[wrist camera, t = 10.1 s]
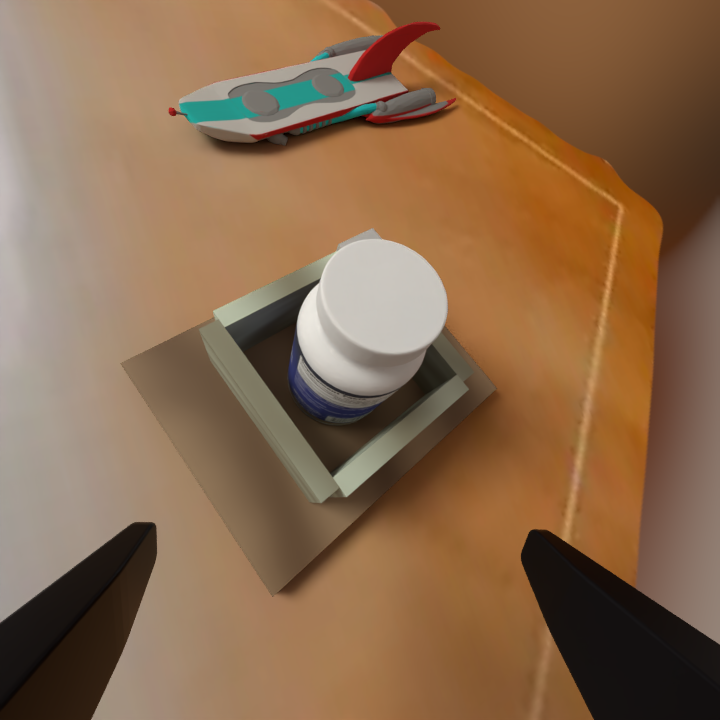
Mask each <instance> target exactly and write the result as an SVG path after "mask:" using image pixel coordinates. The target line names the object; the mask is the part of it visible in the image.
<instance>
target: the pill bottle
mask: <svg viewBox="0 0 720 720" xmlns="http://www.w3.org/2000/svg"><path fill="white" fill-rule="evenodd" d="M447 312H448V302H447V294H446V291H445V288H444V286H443V283H442V281H441V279H440V277H439V276H438V274H437V273H436V271H435V270H434V269H433V267H432V266H431V265H430V264H429V263H428V262H427V261H426V260H425V259H424V258H423V257H422V256H421V255H419V254H418V253H416V252H415V251H413V250H412V249H410V248H408V247H406V246H404V245H401V244H398V243H395V242H392V241H388V240H382V239H366V240H360V241H356V242H353V243H350V244H348V245H346V246H344V247H342V248H341V249H340V250H339V251H337V252H336V253H335V254H334V255H333V256H332V257H331V258H330V260H329V261H328V263H327V264H326V266H325V268H324V270H323V273H322V276H321V279H320V283H319V284H317V285H316V286H315V287H314V288H313V289H312V290H311V292H310V293H309V294H308V295H307V297H306V299H305V300H304V302H303V304H302V307H301V309H300V312H299V315H298V320H297V324H296V330H295V335H294V341H293V346H292V351H291V357H290V362H289V367H288V376H287V379H288V386H289V390H290V393H291V396H292V398H293V399H294V401H295V403H296V404H297V406H298V407H299V408H300V409H301V410H302V411H303V412H304V413H305V414H306V415H308V416H309V417H311V418H312V419H314V420H316V421H319V422H321V423H324V424H329V425H346V424H350V423H353V422H356V421H358V420H360V419H362V418H363V417H365V416H367V415H368V414H369V413H370V412H372V411H373V410H374V409H375V408H376V407H378V406H379V405H380V404H381V403H382V402H383V401H385V400H386V399H387V398H388V397H390V396H391V395H392V394H393V393H395V392H396V391H397V390H398V389H400V388H401V387H402V386H404V385H405V384H406V383H407V382H408V381H409V380H410V379H411V378H412V377H413V376H414V374H415V373H416V372H417V370H418V369H419V367H420V366H421V364H422V362H423V359H424V356H425V353H426V349H427V348H428V347H429V346H430V345H431V344H432V343H433V342H434V341H435V340H436V339H437V337H438V336H439V334H440V333H441V331H442V329H443V327H444V325H445V322H446V318H447Z"/></svg>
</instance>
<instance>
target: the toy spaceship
mask: <svg viewBox="0 0 720 720" xmlns="http://www.w3.org/2000/svg"><path fill="white" fill-rule="evenodd" d="M434 30H440V27H439V26H438V25H437V24H436V23H431V22H414V23H411V24H408V25H404V26H401V27H398V28H396V29H394V30H392V31H390V32H388V33H386V34H385V35H384V36H369V37H362V38H357V39H353V40H349V41H345V42H342V43H339V44H336V45H333V46H331V47H326V48H325V49H324V50H323V51H321V52H320V53H319V54H318V55H317V56H316V57H315V58H314V59H313V60H312V61H311V62H308V63H303V64H298V65H293V66H289V67H284V68H279V69H275V70H270V71H265V72H261V73H256V74H251V75H247V76H242V77H237V78H233V79H228V80H223V81H219V82H214V83H212V84H210V85H207V86H205V87H203V88H201V89H199V90H197V91H195V92H193V93H191V94H189V95H187V96H184V97H182V98H181V99H180V100H179V107H180V111H181V112H182V113H180V112H178V111H176V110H175V109H174V108H169V114H170V115H171V116H176V114H180V115H184V116H185V117H186V118H187V119H188V121H189V122H190V123H191V124H192V125H193V126H194V127H195V128H196V129H197V130H199V131H200V132H203V133H205V134H207V135H209V136H211V137H214V138H217V139H220V140H224V141H230V142H245V143H254V142H257V141H260V140H263V139H266V138H267V140H268V141H270V142H272V143H274V144H281V145H286V143H287V139H288V137H286V136H284V135H283V133H286V132H289V133H290V134H293V135H299V134H300V133H302V134H303V133H306V132H307V131H308V132H310V131H312V130H313V129H314V130H316V129H318V128H319V127H320V128H322V127H324V126H325V125H327V126H328V125H331V124H333V123H337V122H341V121H345V120H348V119H351V118H355V117H358V116H364V117H368V118H367V119H366V120H367V121H371V122H373V123H375V124H383V123H393V122H397V121H401V120H404V119H411V118H418V117H422V116H426V115H430V114H433V113H436V112H438V111H440V110H442V109H444V108H446V107H448V106H449V105H451V104H452V103H453V102H455V100H456V98H454V99H451V100H448V101H444V102H440V103H435V102H436V95H435V92H434V91H433V89H431V88H422V89H421V90H417V91H413V92H409V93H408V90H407V89H406V88H405V87H404V86H403V85H402V84H401V83H400V82H399V81H398V80H397V79H396V78H395V77H394V76H393V75H392V74H391V69H392V64H393V62H394V61H395V60H396V58H397V57H398V56H399V54H400V53H401V52H402V50H404V49H405V48H406V47H407V46H408V45H409V44H410V43H411V42H413V41H414V40H416V39H417V38H419V37H420V36H421V35H423V34H425V33H427V32H429V31H434Z"/></svg>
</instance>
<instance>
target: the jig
mask: <svg viewBox="0 0 720 720" xmlns="http://www.w3.org/2000/svg"><path fill="white" fill-rule="evenodd" d="M338 251H339V250H338ZM336 252H337V251H336ZM336 252H334V253H332V254H330V255H328V256H326V257H324V258H322V259H320V260H317V261H315V262H313V263H311V264H309V265H307V266H305V267H303V268H301V269H299V270H297V271H295V272H293V273H291V274H288V275H286V276H284V277H282V278H280V279H278V280H276V281H274V282H272V283H270V284H268V285H266V286H264V287H262V288H260V289H257V290H255V291H253V292H251V293H249V294H247V295H245V296H243V297H241V298H239V299H237V300H235V301H233V302H231V303H228V304H226V305H224V306H222V307H220V308H218V309H216V310H214V311H213V313H214V318H212V319H210V320H208V321H205V322H203V323H201V324H199V325H197V326H195V327H193V328H191V329H189V330H187V331H185V332H183V333H181V334H179V335H177V336H175V337H173V338H171V339H169V340H167V341H165V342H163V343H161V344H159V345H157V346H155V347H153V348H151V349H149V350H147V351H145V352H143V353H140V354H138V355H136V356H134V357H132V358H130V359H128V360H126V361H124V362H122V363H120V364H121V365H122V367H123V368H124V370H125V371H126V373H127V374H128V376H129V377H130V379H131V381H132V382H133V384H134V385H135V387H136V388H137V390H138V391H139V393H140V394H141V396H142V397H143V399H144V400H145V402H146V404H147V405H148V407H149V408H150V410H151V411H152V413H153V414H154V416H155V417H156V419H157V420H158V422H159V424H160V425H161V427H162V428H163V430H164V431H165V433H166V434H167V436H168V437H169V439H170V440H171V442H172V443H173V445H174V447H175V448H176V450H177V451H178V453H179V454H180V456H181V457H182V459H183V460H184V462H185V463H186V465H187V466H188V468H189V470H190V471H191V473H192V474H193V476H194V477H195V479H196V480H197V482H198V483H199V485H200V486H201V488H202V490H203V491H204V493H205V494H206V496H207V497H208V499H209V500H210V502H211V503H212V505H213V506H214V508H215V509H216V511H217V513H218V514H219V516H220V517H221V519H222V520H223V522H224V523H225V525H226V526H227V528H228V529H229V531H230V532H231V534H232V536H233V537H234V539H235V540H236V542H237V543H238V545H239V546H240V548H241V549H242V551H243V552H244V554H245V556H246V557H247V559H248V560H249V562H250V563H251V565H252V566H253V568H254V569H255V571H256V572H257V574H258V575H259V577H260V579H261V580H262V582H263V583H264V585H265V586H266V588H267V589H268V591H269V592H270V594H271V595H272V597H273V596H274V595H275V594H276V593H278V592H279V591H280V590H281V589H282V588H283V587H284V586H285V585H286V584H287V583H288V582H289V581H290V580H292V579H293V578H294V577H295V576H296V575H297V574H298V573H299V572H300V571H301V570H302V569H303V568H304V567H306V566H307V565H308V564H309V563H310V562H311V561H312V560H313V559H314V558H315V557H316V556H317V555H318V554H320V553H321V552H322V551H323V550H324V549H325V548H326V547H327V546H328V545H329V544H330V543H331V542H332V541H333V540H335V539H336V538H337V537H338V536H339V535H340V534H341V533H342V532H343V531H344V530H345V529H346V528H347V527H349V526H350V525H351V524H352V523H353V522H354V521H355V520H356V519H357V518H358V517H359V516H360V515H361V514H363V513H364V512H365V511H366V510H367V509H368V508H369V507H370V506H371V505H372V504H373V503H374V502H375V501H377V500H378V499H379V498H380V497H381V496H382V495H383V494H384V493H385V492H386V491H387V490H388V489H389V488H390V487H392V486H393V485H394V484H395V483H396V482H397V481H398V480H399V479H400V478H401V477H402V476H403V475H404V474H406V473H407V472H408V471H409V470H410V469H411V468H412V467H413V466H414V465H415V464H416V463H417V462H418V461H420V460H421V459H422V458H423V457H424V456H425V455H426V454H427V453H428V452H429V451H430V450H431V449H432V448H434V447H435V446H436V445H437V444H438V443H439V442H440V441H441V440H442V439H443V438H444V437H445V436H446V435H447V434H449V433H450V432H451V431H452V430H453V429H454V428H455V427H456V426H457V425H458V424H459V423H460V422H461V421H463V420H464V419H465V418H466V417H467V416H468V415H469V414H470V413H471V412H472V411H473V410H474V409H475V408H477V407H478V406H479V405H480V404H481V403H482V402H483V401H484V400H485V399H486V398H487V397H488V396H489V395H490V394H492V393H493V392H494V391H495V390H496V389H497V388H496V386H495V385H494V384H493V383H492V382H491V380H490V379H489V378H488V377H487V376H486V375H485V373H484V372H483V371H482V370H481V369H480V367H479V366H478V365H477V364H476V363H475V361H474V360H473V359H472V358H471V357H470V355H469V354H468V353H467V352H466V351H465V349H464V348H463V347H462V346H461V345H460V343H459V342H458V341H457V340H456V339H455V337H454V336H453V335H452V334H451V333H450V332H449V330H448V329H447V328H446V327H445V326H444V327H443V329H442V331H441V333H440V334H439V336H438V337H437V339H436V340H435V341H434V342H433V343H432V344H431V345H430V346H429V347H428V348H427V349H426V353H425V356H424V359H423V362H422V364H421V366H420V367H419V369H418V370H417V372H416V373H415V374H414V376H413V377H412V378H411V379H410V380H409V381H408V382H407V383H406V384H405V385H404V386H402V387H401V388H400V389H398V390H397V391H396V392H395V393H393V394H392V395H391V396H390V397H388V398H387V399H386V400H385V401H383V402H382V403H381V404H380V405H379V406H378V407H376V408H375V409H374V410H373V411H372V412H370V413H369V414H368V415H367V416H365V417H363V418H362V419H360V420H358V421H356V422H353V423H350V424H346V425H329V424H324V423H321V422H319V421H316V420H314V419H312V418H311V417H309V416H308V415H306V414H305V413H304V412H303V411H302V410H301V409H300V408H299V407H298V406H297V404H296V403H295V401H294V399H293V398H292V396H291V393H290V390H289V386H288V379H287V376H288V367H289V362H290V357H291V351H292V346H293V341H294V335H295V330H296V324H297V320H298V315H299V312H300V309H301V307H302V304H303V302H304V300H305V299H306V297H307V295H308V294H309V293H310V292H311V290H312V289H313V288H314V287H315V286H316V285H317V284H319V283H320V279H321V276H322V273H323V270H324V268H325V266H326V264H327V263H328V261H329V260H330V258H331V257H332V256H333V255H334V254H335V253H336Z"/></svg>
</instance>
